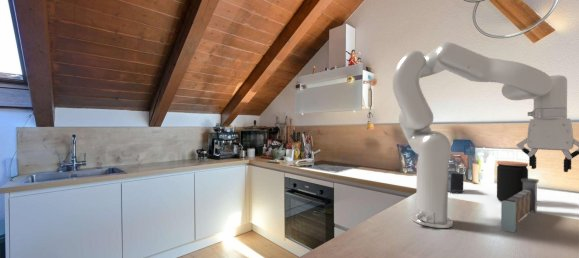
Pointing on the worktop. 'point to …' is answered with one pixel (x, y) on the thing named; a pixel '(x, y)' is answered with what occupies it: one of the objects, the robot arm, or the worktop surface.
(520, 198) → the gate
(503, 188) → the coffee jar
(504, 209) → the block
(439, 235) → the worktop surface
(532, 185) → the gate post
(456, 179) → the small box
